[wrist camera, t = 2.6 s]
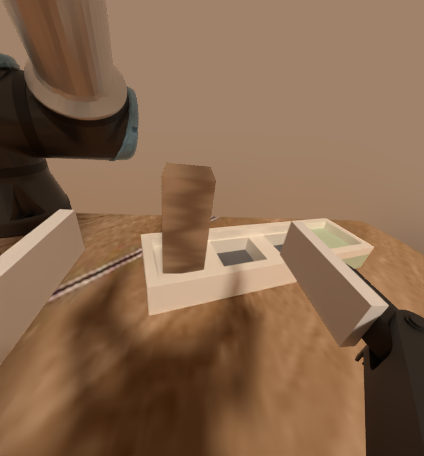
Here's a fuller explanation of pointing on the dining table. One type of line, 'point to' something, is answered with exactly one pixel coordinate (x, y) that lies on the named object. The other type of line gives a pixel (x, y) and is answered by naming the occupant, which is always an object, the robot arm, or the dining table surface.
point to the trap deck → (238, 263)
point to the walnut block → (186, 216)
